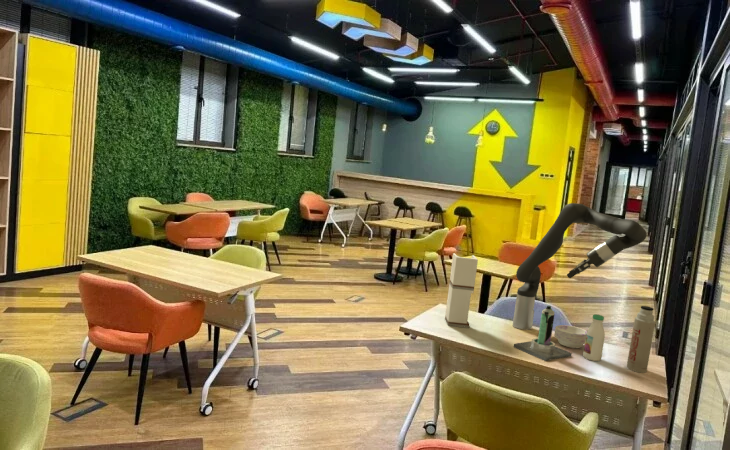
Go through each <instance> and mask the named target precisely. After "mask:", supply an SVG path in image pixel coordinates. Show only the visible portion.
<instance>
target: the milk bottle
mask: <svg viewBox="0 0 730 450" xmlns="http://www.w3.org/2000/svg"><path fill="white" fill-rule="evenodd" d="M604 319H605V316H604V315H600V314H598V313H597V314H592V321H591V324H590V325H589V327H588V328H587V330H586V331H587V333H586V339H585V344H583V345H584V346H583V352H582V357H583V358H584V359H586V360H588V361H594V362H600V361H602V356H603V350H604V344H605V337H606V334H605V328H604V325H603V323H604Z"/></svg>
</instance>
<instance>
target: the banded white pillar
mask: <svg viewBox="0 0 730 450" xmlns="http://www.w3.org/2000/svg"><path fill="white" fill-rule="evenodd" d="M478 261H479V259H478V258H477V257H476V256H475V255H474V254H473V255H471V257H470V258H469V257H464V256H463V257H462V256H459V255H457V254H456V253H455V252H454V253H452V261H451V267H450V277H449V285H448V292H447V298H446V299H447V300H446V308H445V315H444V321H445V323H446V325H447V326H448V327H449V326H450V327H456V328H457V327H458V328H466V329H467V328H468V329H470V323H469V321H468V320H469V311H470V306H471V305H470V303H471V296H472V294H474V292H475V286H476V285H475V284H476V278H477V269H478Z"/></svg>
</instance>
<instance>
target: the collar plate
mask: <svg viewBox="0 0 730 450" xmlns="http://www.w3.org/2000/svg"><path fill="white" fill-rule="evenodd" d="M537 342H538V337H535V338H532V339H531V341H524V342H517V343H514V344H513V348H514V349H517V350H520V351H522V352H524V353H526V354H529V355H531V356H533V357H535V358H538V359H540V360H542V361H544V362H548V361H549V362H550V361H553V360H560V359H564V358H569V357H572V356H573V355H572V354H573V353H572V352H570V351H567V350H565V349H562V348H561V347H560V348H559V347H557V346H556V343H555V342H554V341H552V340H551V342H550V345H543V344H539V343H537Z"/></svg>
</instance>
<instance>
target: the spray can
mask: <svg viewBox="0 0 730 450" xmlns="http://www.w3.org/2000/svg"><path fill="white" fill-rule="evenodd" d="M555 313H556V312H555V311H554V310H553V308H552V305H547V306H546V307H545V308H544V309H542V311H541V316H540V322H539V329H538V330H539V331H538V336H537V338H538V342H537V343H539V344H543V345H550V342H551V341H552V340H551V339H552V335H553V327H554V321H555Z"/></svg>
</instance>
